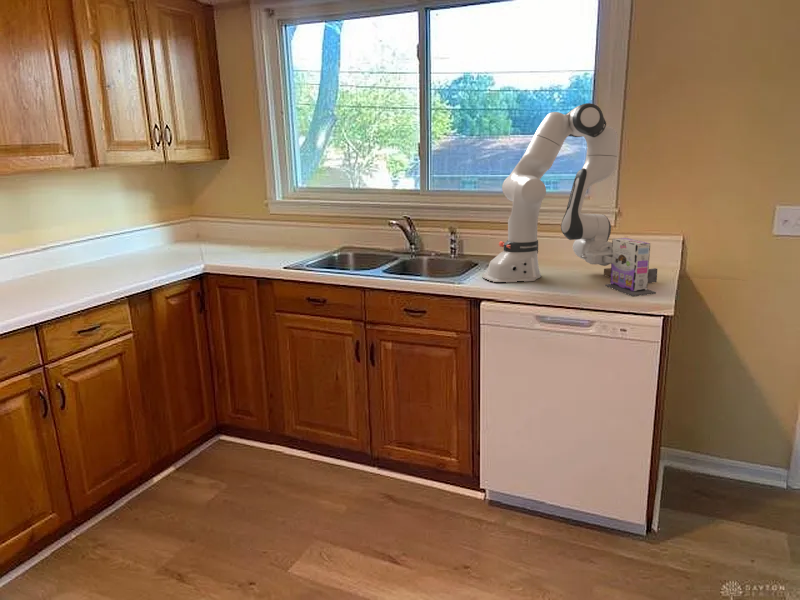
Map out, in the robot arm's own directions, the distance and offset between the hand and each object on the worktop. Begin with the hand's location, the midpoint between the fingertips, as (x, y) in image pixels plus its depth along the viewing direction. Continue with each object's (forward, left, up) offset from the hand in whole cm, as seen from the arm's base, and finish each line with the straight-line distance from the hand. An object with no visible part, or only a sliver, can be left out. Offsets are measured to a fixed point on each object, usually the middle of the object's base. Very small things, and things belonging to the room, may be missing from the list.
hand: (626, 259), depth 217 cm
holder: (+10, +11, -10) cm, 18 cm away
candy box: (0, -2, -10) cm, 10 cm away
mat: (0, -3, -10) cm, 10 cm away
